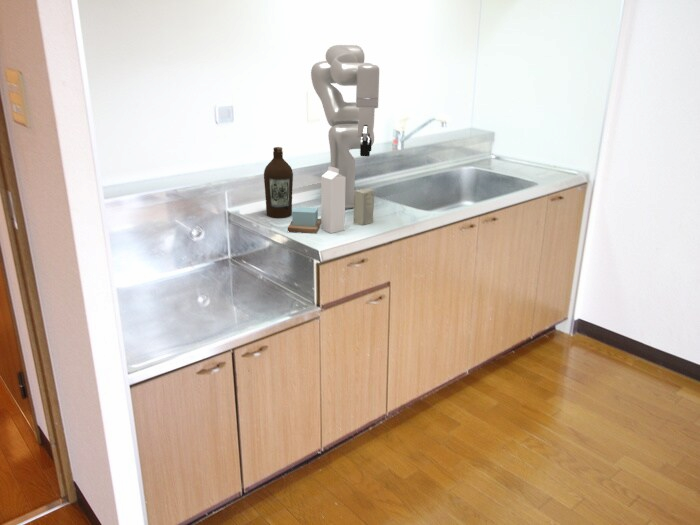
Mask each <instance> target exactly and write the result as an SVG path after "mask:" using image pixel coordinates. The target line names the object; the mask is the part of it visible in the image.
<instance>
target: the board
mask: <svg viewBox="0 0 700 525" xmlns="http://www.w3.org/2000/svg"><path fill="white" fill-rule="evenodd" d="M320 228H321V218H318V222H317V224H316V226H315V227H314V226H294V225H292V220H291V221H290V223H289V225H288V226H287V232H288V231H289V232H288V233H297V232H301V233H300V234H317V233H318V231H319V229H320Z"/></svg>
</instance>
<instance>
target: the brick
mask: <svg viewBox="0 0 700 525" xmlns="http://www.w3.org/2000/svg"><path fill="white" fill-rule="evenodd" d="M318 208H319V207H310V206H309V207H307V206H295V207H294V208H293V209H292V215H291V218H292V219H291V221H292V225H294V226H314V227H315V226H316V224H317V222H318V219H319V215H318V214H319V209H318Z"/></svg>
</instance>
